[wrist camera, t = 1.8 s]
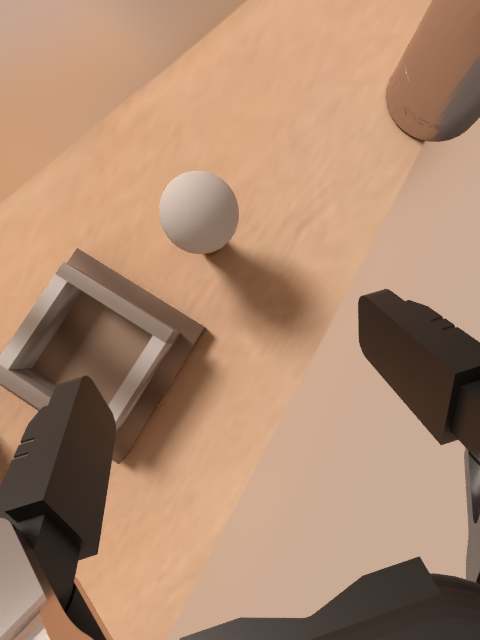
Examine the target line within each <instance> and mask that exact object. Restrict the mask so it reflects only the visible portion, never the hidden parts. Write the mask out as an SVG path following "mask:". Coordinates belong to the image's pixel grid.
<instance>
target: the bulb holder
mask: <svg viewBox="0 0 480 640" xmlns="http://www.w3.org/2000/svg"><path fill="white" fill-rule="evenodd" d="M205 329H206V328H205V327H204V326H202V325H200V324H199V323H197V322H196V321H194V320H192V319H191V318H189V317H187V316H186V315H184V314H183V313H181V312H179V311H178V310H176V309H175V308H173V307H171V306H170V305H168V304H166V303H165V302H163V301H162V300H160V299H158V298H157V297H155V296H154V295H152V294H150V293H149V292H147V291H146V290H144V289H142V288H141V287H139V286H137V285H136V284H134V283H133V282H131V281H129V280H128V279H126V278H125V277H123V276H121V275H120V274H118V273H116V272H115V271H113V270H112V269H110V268H108V267H107V266H105V265H104V264H102V263H100V262H99V261H97V260H95V259H94V258H92V257H91V256H89V255H87V254H86V253H84V252H83V251H81V250H79V249H78V248H77V249H76V251H75V252H74V254H73V255H72V256H71V258H70V259H69V261H68V262H67V263H65V262H63V263H62V265H61V266H60V268H59V269H58V271H57V272H56V274H55V275H54V277H53V278H52V280H51V281H50V283H49V284H48V286H47V287H46V289H45V290H44V292H43V293H42V295H41V296H40V297H39V299H38V300H37V302H36V303H35V305H34V306H33V308H32V309H31V311H30V312H29V314H28V315H27V317H26V318H25V320H24V321H23V323H22V324H21V326H20V327H19V329H18V330H17V332H16V333H15V334H14V336H13V337H12V339H11V340H10V342H9V343H8V345H7V346H6V348H5V349H4V351H3V352H2V354H1V355H0V385H1V386H2V387H4V388H5V389H7V390H8V391H10V392H11V393H13V394H14V395H16V396H17V397H19V398H20V399H22V400H23V401H25V402H26V403H28V404H29V405H31V406H32V407H34V408H35V409H37V410H38V411H40V410H41V408H42V407H44V406H48V404H49V401H50V399H51V396H52V394H53V392H54V389H55V387H56V385H57V384H59V383H62V382H65V381H68V380H72V379H75V378H79V377H82V376H89V377H90V378H91V379H92V380H93V382H94V384H95V385H96V387H97V388H98V390H99V392H100V393H101V395H102V396H103V398H104V400H105V401H106V403H107V405H108V406H109V408H110V409H111V411H112V413H113V416H114V419H115V423H116V436H115V443H114V449H113V456H112V460H114V461H115V462H117V463H118V464H119V463H120V462H121V461H122V460H124V458H125V456H126V455H127V453H128V452H129V450H130V448H131V447H132V445H133V444H134V442H135V440H136V439H137V437H138V436H139V434H140V433H141V431H142V429H143V428H144V426H145V425H146V423H147V421H148V420H149V418H150V417H151V415H152V413H153V412H154V410H155V409H156V407H157V405H158V404H159V402H160V401H161V399H162V397H163V396H164V394H165V393H166V391H167V389H168V388H169V386H170V385H171V383H172V381H173V380H174V378H175V377H176V375H177V373H178V372H179V370H180V369H181V367H182V366H183V364H184V362H185V361H186V359H187V358H188V356H189V354H190V353H191V351H192V350H193V348H194V346H195V345H196V343H197V342H198V340H199V338H200V337H201V335H202V334H203V332H204V330H205Z"/></svg>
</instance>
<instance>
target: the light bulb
mask: <svg viewBox="0 0 480 640" xmlns="http://www.w3.org/2000/svg"><path fill="white" fill-rule="evenodd" d="M159 217H160V222H161V225H162V228H163V230H164V232H165V234H166V235H167V237H168V238H169V239H170V240H171V241H172V243H174V244H175V245H176V246H177V247H179V248H181V249H182V250H184V251H187V252H190V253H194V254H205V255H212V254H215V253H217V252H218V251H219V250H220V248H222V247H223V246H224V245H225V244H227V243H228V241H229V240H230V239H231V238H232V236H233V235H234V233H235V230H236V228H237V224H238V219H239V209H238V203H237V200H236V197H235V195H234V193H233V191H232V190H231V188H230V187H229V186H228V185H227V183H226V182H225V181H223V180H222V179H221V178H220V177H218V176H216V175H214V174H212V173H209V172H205V171H190V172H186V173H183V174H181V175H179V176H177V177H176V178H175V179H173V180H172V181H171V182H170V183H169V184H168V185H167V187H166V188H165V190H164V192H163V194H162V196H161V200H160V205H159Z"/></svg>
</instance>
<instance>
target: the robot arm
mask: <svg viewBox="0 0 480 640" xmlns="http://www.w3.org/2000/svg"><path fill="white" fill-rule="evenodd" d="M386 99H387V106H388V109H389V112H390V115H391V116H392V118H393V120H394V121H395V123H396V124H397V125H398V126H399V127H400V128H401V129H402V130H403V131H405V132H406V133H408V134H409V135H411V136H413V137H415V138H418V139H421V140H425V141H436V142H440V141H445V140H450V139H452V138H455V137H457V136H459V135H461V134H462V133H464V132H465V131H466V130H467V129H469V128H470V127H471V125H472V124H474V123H475V122H476V121H477V119H478V118H479V117H480V0H432V2H431V4H430V5H429V7H428V9H427V11H426V13H425V15H424V17H423V19H422V21H421V22H420V24H419V26H418V28H417V30H416V32H415V34H414V36H413V37H412V39H411V41H410V43H409V45H408V46H407V48H406V50H405V52H404V54H403V56H402V58H401V60H400V62H399V63H398V65H397V67H396V69H395V71H394V73H393V75H392V77H391V79H390V81H389V84H388V87H387V94H386ZM358 313H359V316H358V319H359V343H360V347H361V349H362V352H363V354H364V355H365V357H366V358H367V360H368V361H369V362H370V363H371V364H372V365H373V367H374V368H375V369H376V370H377V371H378V372H379V374H380V375H381V376H382V377H383V378H384V379H385V381H386V382H387V383H388V384H389V385H390V386H391V388H393V390H394V391H395V392H396V393H397V394H398V396H399V397H400V398H401V399H402V400H403V402H404V403H405V404H406V405H407V406H408V407H409V409H410V410H411V411H412V412H413V413H414V414H415V415H416V416H417V418H418V419H419V420H420V421H421V422H422V424H423V425H424V426H425V427H426V428H427V429H428V431H429V432H430V433H431V434H432V435H433V436H434V438H435V439H436V440H437V441H438V442H439V443H440V445H443V444H446V443H449V442H452V441H455V440H459V441H460V442H461V443H462V444H463V445H464V446H465V447H466V449H465V453H464V460H465V477H466V493H467V511H468V528H469V536H468V547H467V557H466V579H462V578H459V577H455V576H448V575H441V574H430V573H429V572H428V570H427V568H426V567H425V565H424V563H423V562H422V560H421V558H420V557H417V558H414V559H411V560H408V561H405V562H402V563H399V564H396V565H393V566H390V567H387V568H384V569H381V570H379V571H375V572H373V573H370V574H367V575H364V576H362V577H361V578H359V579H358V580H357V581H356V582H354V583H353V584H352V585H350V586H349V587H348V588H347V589H345V590H344V591H343V592H341V593H340V594H339V595H338V596H336V597H335V598H334V599H333V600H331V601H330V602H329V603H328V604H326V605H325V606H324V607H322V608H321V609H320V610H319V611H317V612H316V613H315V614H313V615H312V616H310V617H307V618H238V619H235V620H233V621H229V622H226V623H223V624H221V625H218V626H215V627H212V628H209V629H206V630H203V631H200V632H197V633H194V634H191V635H189V636H186V637H183V638H180V640H480V342H478V341H477V340H475V339H474V338H472V337H471V336H469V335H468V334H467V333H465V332H464V331H462V330H461V329H460V328H458V327H457V328H455V326H454V324H452V323H451V322H449V321H448V320H447V319H443V318H442V316H441V315H439V314H438V313H436V312H435V311H434V310H432V309H431V308H429V307H428V306H425V305H422V304H419V303H416V302H413V301H410V300H408V301H404V300H402V299H401V298H400V297H398V296H397V295H396V294H394V293H393V292H392V291H390V290H388V289H384V290H381V291H378V292H374V293H370V294H367V295H364V296H361V297H360V299H359V302H358ZM115 436H116V423H115V419H114V416H113V413H112V411H111V409H110V408H109V406H108V405H107V403H106V401H105V400H104V398H103V396H102V395H101V393H100V392H99V390H98V388H97V387H96V385H95V384H94V382H93V380H92V379H91V378H90V377H89V376H82V377H79V378H75V379H72V380H68V381H65V382H62V383H59V384H57V385H56V387H55V389H54V392H53V394H52V396H51V399H50V401H49V404H48V406H44V407H42V408H41V410H40V411H39V412H38V413H37V414H36V415H35V417H34V418H33V419H32V420H31V421H30V423H29V424H28V426H27V428H26V430H25V433H24V435H23V437H22V439H21V445H19V446H18V448H17V450H16V453H15V455H14V458H15V459H14V460H12V462H11V464H10V466H9V468H8V471H7V473H6V475H5V477H4V480H3V482H2V484H1V486H0V640H113V639H112V637H111V635H110V634H109V632H108V630H107V628H106V627H105V625H104V623H103V621H102V620H101V618H100V616H99V615H98V613H97V611H96V609H95V608H94V606H93V604H92V602H91V601H90V599H89V597H88V596H87V594H86V592H85V590H84V589H83V587H82V585H81V583H80V582H79V580H78V579H77V578H76V577H75V574H76V568H77V563H78V560H81V559H84V558H87V557H90V556H94V555H97V554H98V548H99V541H100V535H101V528H102V522H103V515H104V508H105V502H106V495H107V489H108V482H109V476H110V469H111V463H112V456H113V449H114V443H115Z"/></svg>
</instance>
